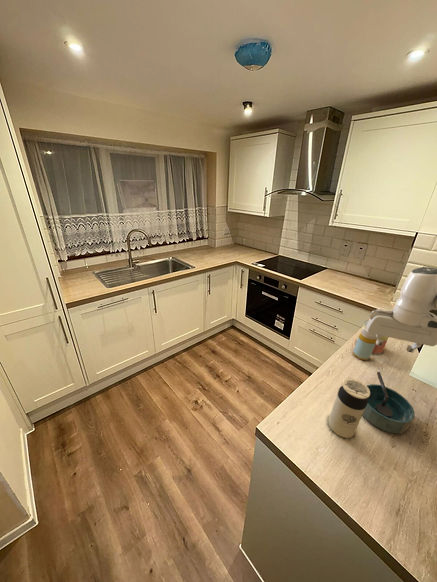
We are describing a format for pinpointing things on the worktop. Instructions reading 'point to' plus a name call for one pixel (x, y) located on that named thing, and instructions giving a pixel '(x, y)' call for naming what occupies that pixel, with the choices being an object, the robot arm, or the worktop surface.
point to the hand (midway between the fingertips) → (393, 347)
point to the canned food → (377, 348)
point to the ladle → (382, 407)
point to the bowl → (396, 403)
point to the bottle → (365, 345)
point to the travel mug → (348, 407)
